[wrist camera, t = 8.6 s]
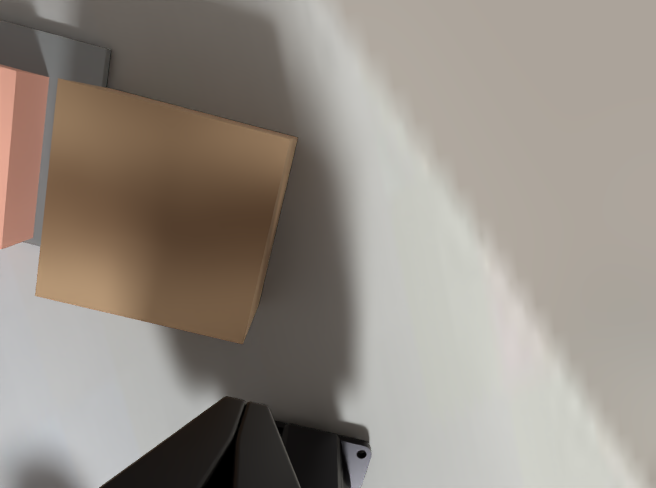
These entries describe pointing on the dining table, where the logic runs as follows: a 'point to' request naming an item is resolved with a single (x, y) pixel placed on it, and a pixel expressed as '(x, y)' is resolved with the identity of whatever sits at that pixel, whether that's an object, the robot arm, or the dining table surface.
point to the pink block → (20, 151)
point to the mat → (51, 81)
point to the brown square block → (159, 211)
